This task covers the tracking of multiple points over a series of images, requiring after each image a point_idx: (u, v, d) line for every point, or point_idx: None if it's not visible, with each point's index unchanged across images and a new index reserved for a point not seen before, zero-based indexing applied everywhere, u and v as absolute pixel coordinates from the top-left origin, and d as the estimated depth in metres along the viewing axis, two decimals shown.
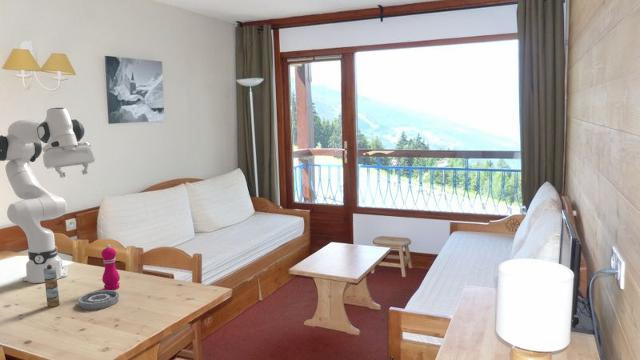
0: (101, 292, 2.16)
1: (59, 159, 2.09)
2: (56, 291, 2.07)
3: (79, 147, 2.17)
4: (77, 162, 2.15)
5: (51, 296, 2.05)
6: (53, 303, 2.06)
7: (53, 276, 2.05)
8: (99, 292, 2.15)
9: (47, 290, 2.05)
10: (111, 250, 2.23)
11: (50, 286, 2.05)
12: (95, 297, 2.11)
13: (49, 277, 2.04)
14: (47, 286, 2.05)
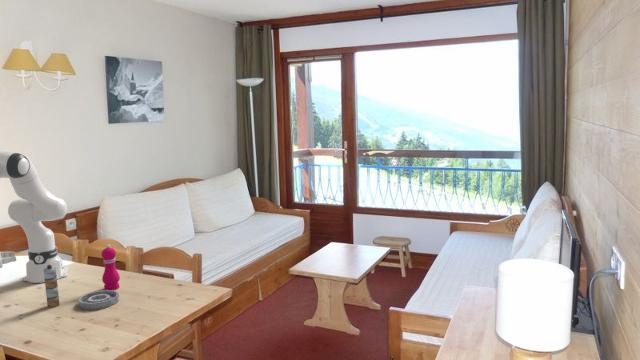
0: (101, 292, 2.16)
1: None
2: (56, 291, 2.07)
3: None
4: None
5: (51, 296, 2.05)
6: (53, 303, 2.06)
7: (53, 276, 2.05)
8: (99, 292, 2.15)
9: (47, 290, 2.05)
10: (111, 250, 2.23)
11: (50, 286, 2.05)
12: (95, 297, 2.11)
13: (49, 277, 2.04)
14: (47, 286, 2.05)
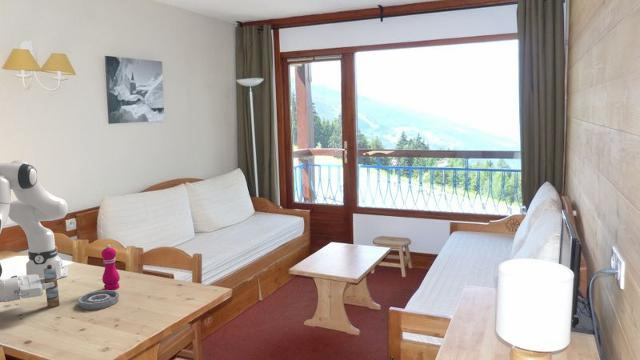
0: (101, 292, 2.16)
1: None
2: (56, 291, 2.07)
3: None
4: None
5: (51, 296, 2.05)
6: (53, 303, 2.06)
7: (53, 276, 2.05)
8: (99, 292, 2.15)
9: (47, 290, 2.05)
10: (111, 250, 2.23)
11: None
12: (95, 297, 2.11)
13: (49, 277, 2.04)
14: None
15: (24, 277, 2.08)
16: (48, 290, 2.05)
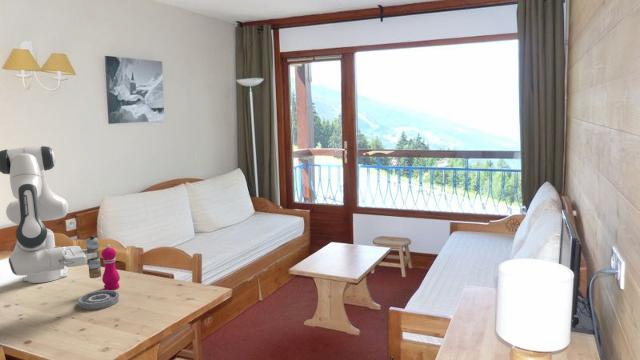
0: (101, 292, 2.16)
1: None
2: (98, 262, 2.06)
3: None
4: None
5: (93, 267, 2.05)
6: (95, 274, 2.06)
7: (95, 247, 2.05)
8: (99, 292, 2.15)
9: (90, 261, 2.05)
10: (111, 250, 2.23)
11: None
12: (95, 297, 2.11)
13: (92, 247, 2.04)
14: None
15: (66, 248, 2.08)
16: (91, 261, 2.05)
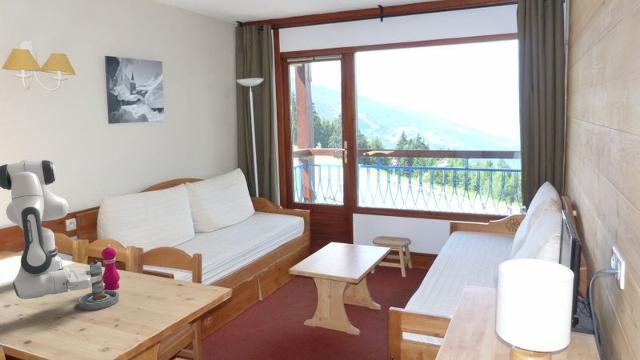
0: None
1: None
2: (102, 286, 2.08)
3: None
4: None
5: (97, 291, 2.07)
6: (99, 298, 2.07)
7: (99, 271, 2.07)
8: None
9: (93, 285, 2.06)
10: (111, 250, 2.23)
11: (96, 281, 2.06)
12: None
13: (95, 272, 2.06)
14: None
15: (70, 270, 2.09)
16: (94, 285, 2.06)
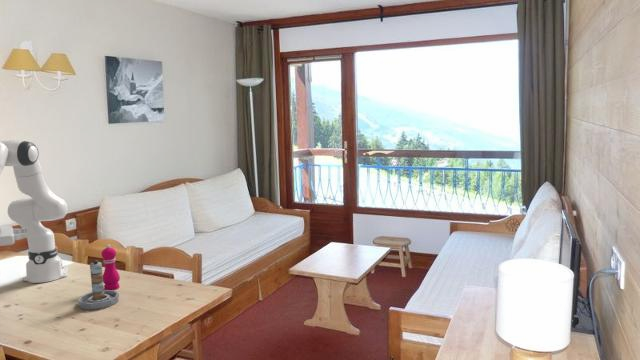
0: None
1: None
2: (102, 286, 2.08)
3: None
4: None
5: (97, 291, 2.07)
6: (99, 298, 2.07)
7: (99, 271, 2.06)
8: None
9: (93, 285, 2.06)
10: (111, 250, 2.23)
11: (96, 281, 2.06)
12: None
13: (95, 272, 2.06)
14: (93, 281, 2.06)
15: None
16: (94, 285, 2.06)
